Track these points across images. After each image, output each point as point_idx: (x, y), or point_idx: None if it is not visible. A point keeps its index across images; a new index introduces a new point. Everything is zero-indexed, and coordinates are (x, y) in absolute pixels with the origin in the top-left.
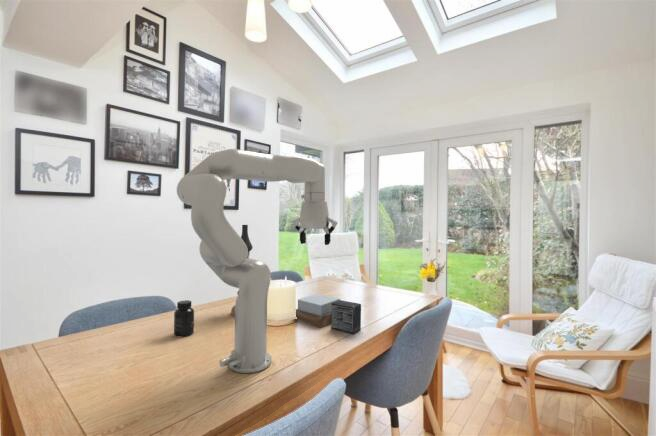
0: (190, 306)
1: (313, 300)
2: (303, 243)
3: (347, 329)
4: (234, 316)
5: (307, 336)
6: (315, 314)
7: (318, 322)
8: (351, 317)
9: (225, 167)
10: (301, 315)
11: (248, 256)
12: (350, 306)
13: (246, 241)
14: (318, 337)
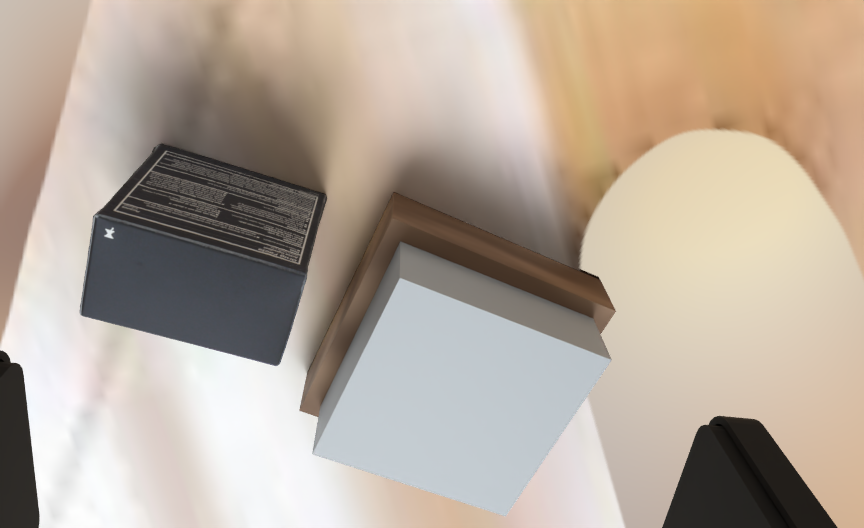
0: None
1: (489, 368)
2: (686, 487)
3: (200, 164)
4: None
5: (436, 27)
6: (446, 261)
7: (413, 211)
8: (145, 187)
9: None
10: (551, 275)
11: None
12: (130, 225)
13: None
14: (361, 32)
